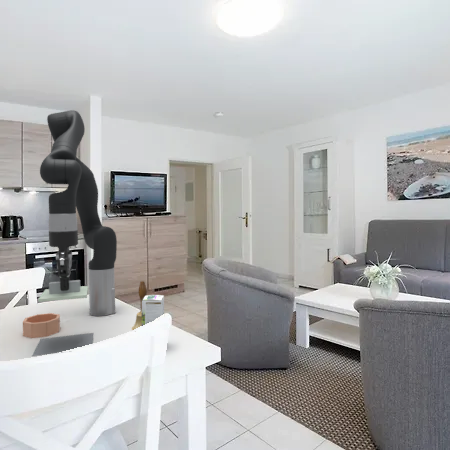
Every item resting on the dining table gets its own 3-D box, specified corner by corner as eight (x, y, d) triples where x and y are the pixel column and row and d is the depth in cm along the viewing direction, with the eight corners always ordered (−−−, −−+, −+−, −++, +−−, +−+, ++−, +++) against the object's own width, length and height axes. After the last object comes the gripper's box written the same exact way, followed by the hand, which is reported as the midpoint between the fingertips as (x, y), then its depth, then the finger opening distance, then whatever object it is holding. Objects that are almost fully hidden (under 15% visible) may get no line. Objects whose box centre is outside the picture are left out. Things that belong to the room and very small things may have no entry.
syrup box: (144, 343, 101) (143, 294, 100) (164, 342, 101) (164, 294, 101) (141, 351, 95) (140, 300, 94) (162, 350, 95) (162, 299, 95)
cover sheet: (88, 288, 107) (87, 276, 106) (86, 297, 95) (86, 284, 95) (45, 292, 102) (44, 279, 102) (38, 302, 91) (37, 288, 91)
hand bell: (132, 335, 107) (131, 285, 107) (129, 327, 115) (128, 280, 114) (158, 331, 111) (158, 282, 110) (154, 323, 118) (153, 278, 117)
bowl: (61, 326, 116) (61, 312, 115) (57, 337, 106) (57, 321, 106) (27, 330, 112) (27, 315, 112) (20, 341, 103) (20, 324, 103)
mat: (93, 334, 108) (93, 332, 108) (92, 350, 96) (92, 348, 96) (40, 340, 103) (40, 338, 103) (31, 358, 91) (31, 356, 91)
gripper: (75, 230, 93) (77, 293, 94) (79, 227, 106) (80, 283, 107) (45, 231, 90) (47, 296, 91) (52, 228, 103) (54, 285, 104)
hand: (65, 288), depth 99 cm, fingers closed on cover sheet, 2 cm apart
